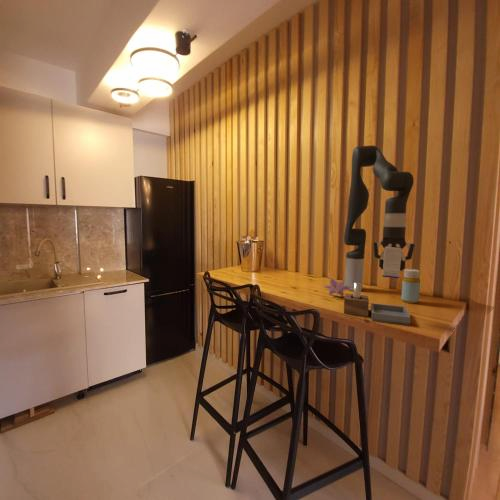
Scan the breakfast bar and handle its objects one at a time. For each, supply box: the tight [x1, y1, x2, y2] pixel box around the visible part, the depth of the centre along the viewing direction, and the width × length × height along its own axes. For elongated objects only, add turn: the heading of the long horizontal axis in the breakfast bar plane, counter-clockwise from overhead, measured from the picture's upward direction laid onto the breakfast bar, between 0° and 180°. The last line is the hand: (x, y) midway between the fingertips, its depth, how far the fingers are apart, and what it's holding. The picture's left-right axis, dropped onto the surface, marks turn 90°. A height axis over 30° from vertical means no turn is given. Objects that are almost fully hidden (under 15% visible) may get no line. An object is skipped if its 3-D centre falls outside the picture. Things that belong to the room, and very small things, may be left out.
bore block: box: [343, 293, 370, 317], centre depth 113 cm, size 9×9×6 cm
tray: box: [370, 302, 411, 326], centre depth 107 cm, size 14×13×3 cm
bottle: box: [400, 268, 421, 305], centre depth 127 cm, size 7×7×15 cm
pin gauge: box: [352, 282, 362, 299], centre depth 113 cm, size 3×3×12 cm
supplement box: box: [382, 247, 403, 279], centre depth 105 cm, size 6×6×12 cm
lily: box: [323, 277, 352, 301], centre depth 134 cm, size 12×12×10 cm
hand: (391, 269), depth 105 cm, fingers closed on supplement box, 6 cm apart
